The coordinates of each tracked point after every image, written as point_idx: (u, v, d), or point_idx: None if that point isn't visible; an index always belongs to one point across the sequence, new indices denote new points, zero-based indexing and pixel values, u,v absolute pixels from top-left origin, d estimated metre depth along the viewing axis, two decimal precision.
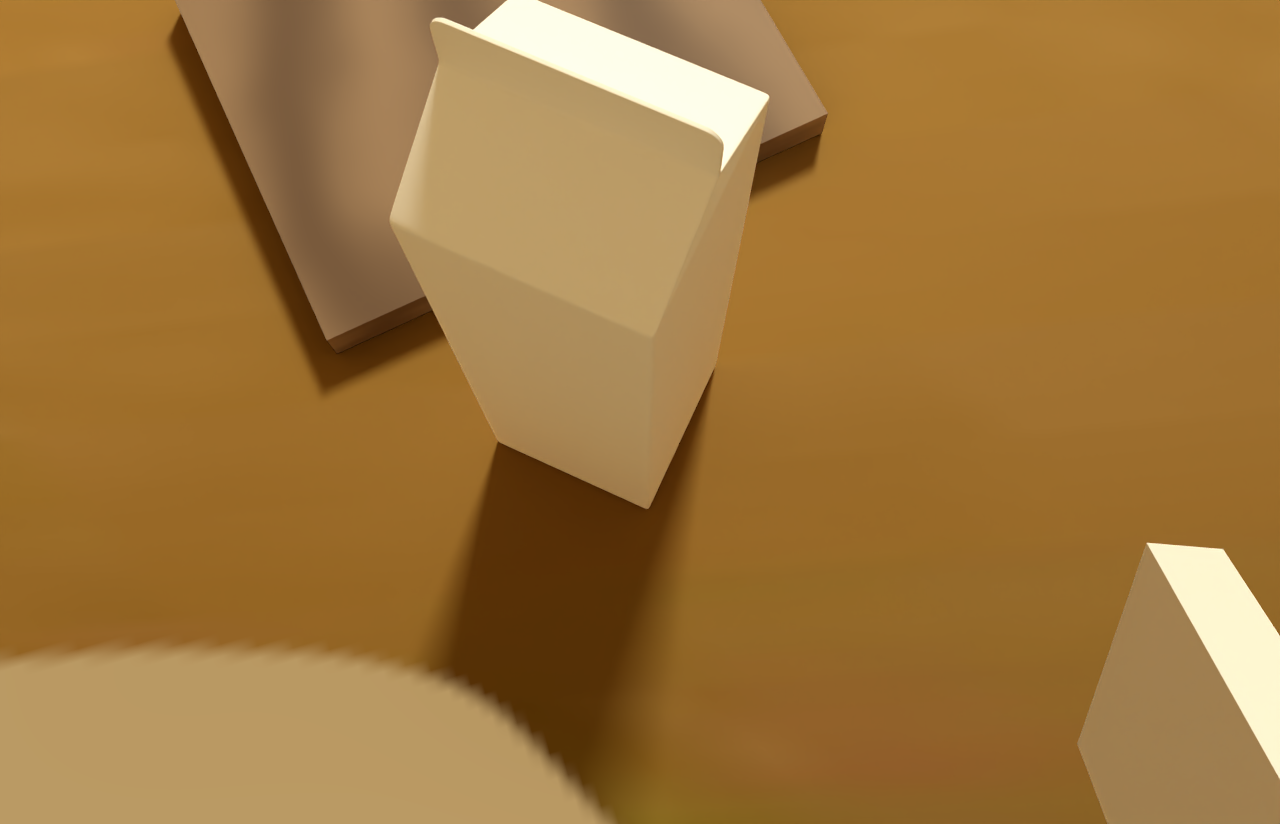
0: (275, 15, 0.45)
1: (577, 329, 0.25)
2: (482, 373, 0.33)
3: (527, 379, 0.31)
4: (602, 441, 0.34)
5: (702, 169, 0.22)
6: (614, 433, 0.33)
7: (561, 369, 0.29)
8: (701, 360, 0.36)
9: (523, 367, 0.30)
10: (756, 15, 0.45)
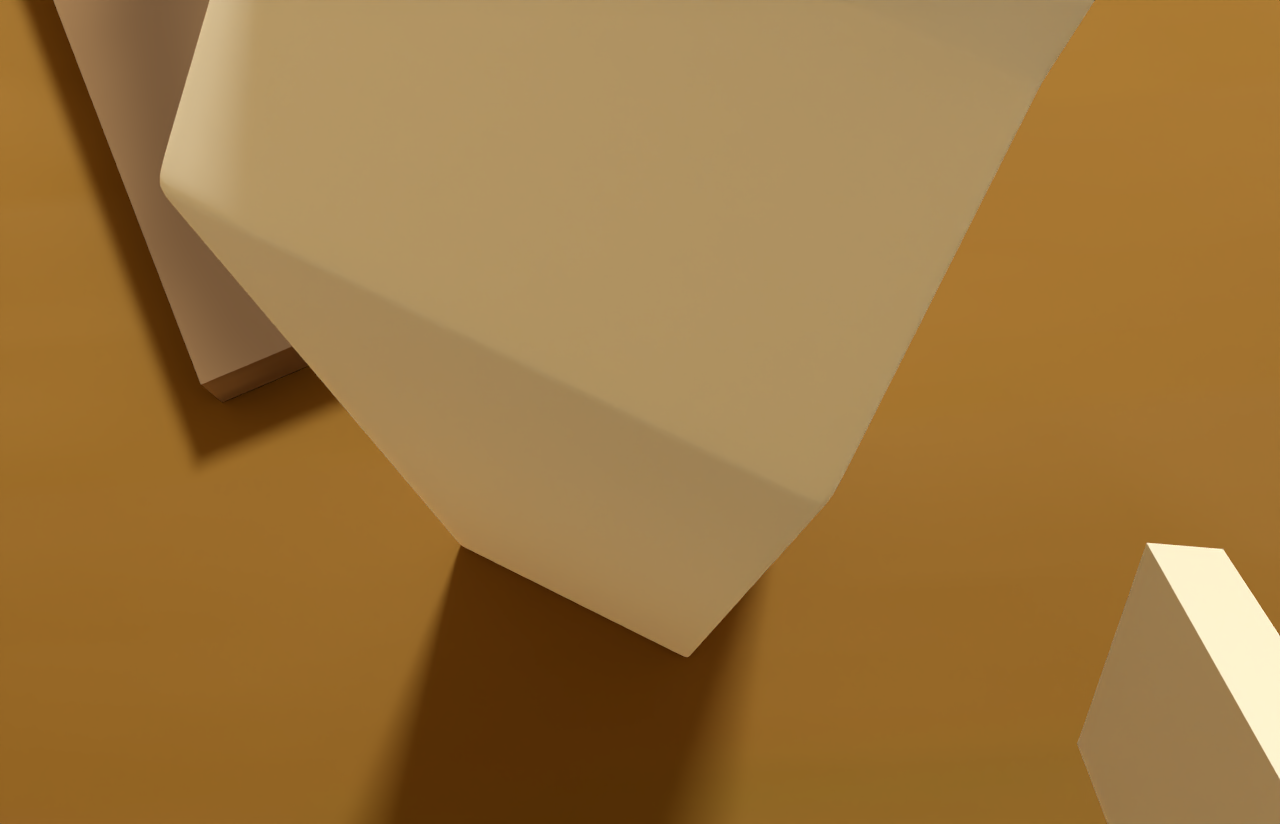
0: None
1: (618, 455, 0.11)
2: (424, 475, 0.18)
3: (503, 499, 0.17)
4: (632, 591, 0.20)
5: (1000, 58, 0.08)
6: (658, 591, 0.18)
7: (571, 502, 0.14)
8: None
9: (497, 484, 0.16)
10: None
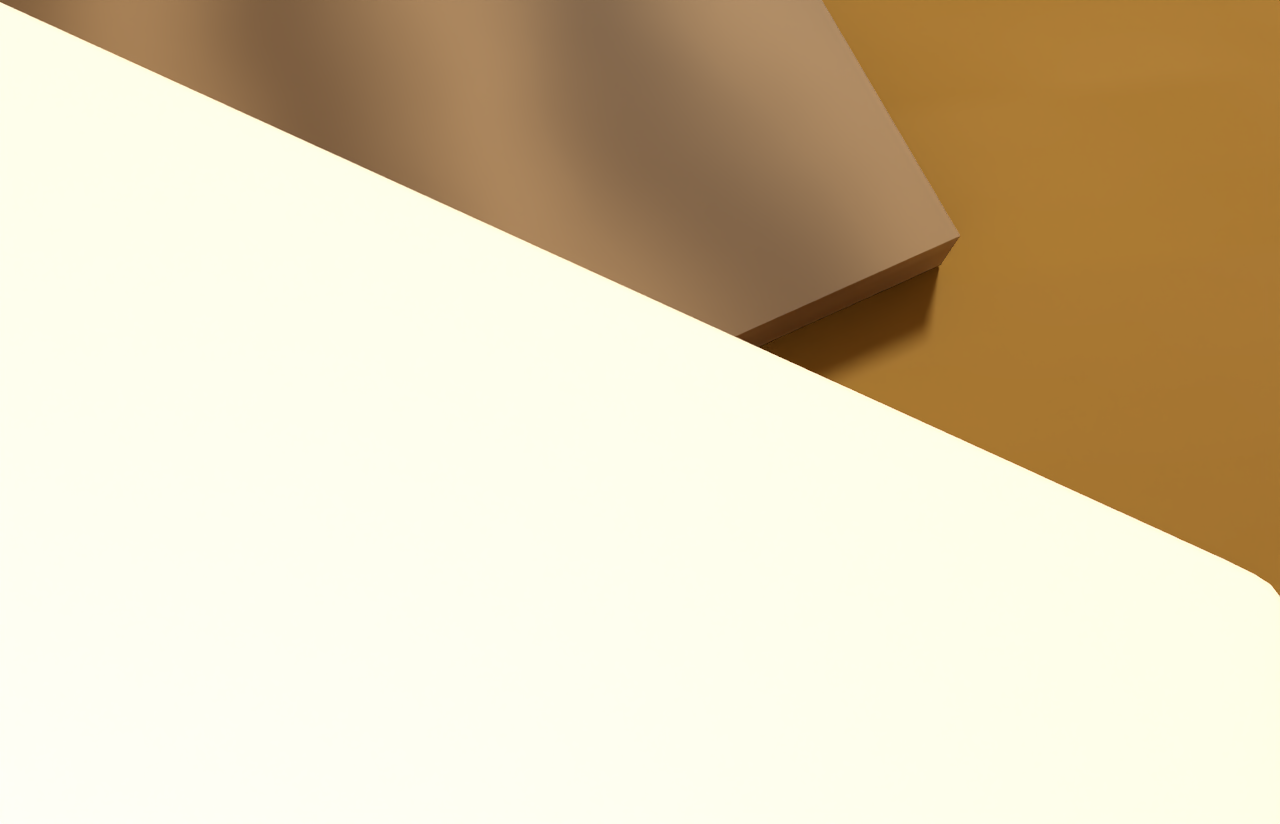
0: None
1: None
2: None
3: None
4: None
5: None
6: None
7: None
8: None
9: None
10: (827, 49, 0.25)
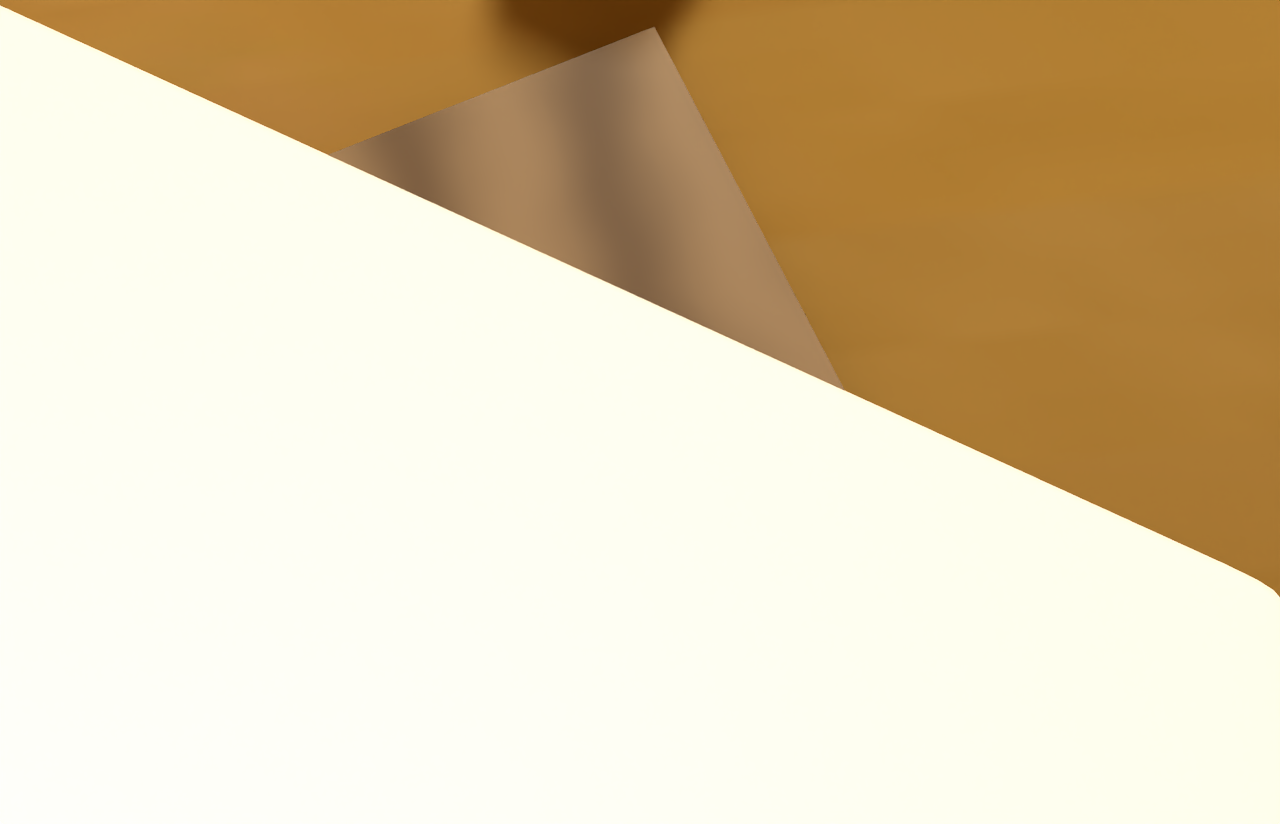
0: None
1: None
2: None
3: None
4: None
5: None
6: None
7: None
8: None
9: None
10: (792, 321, 0.37)
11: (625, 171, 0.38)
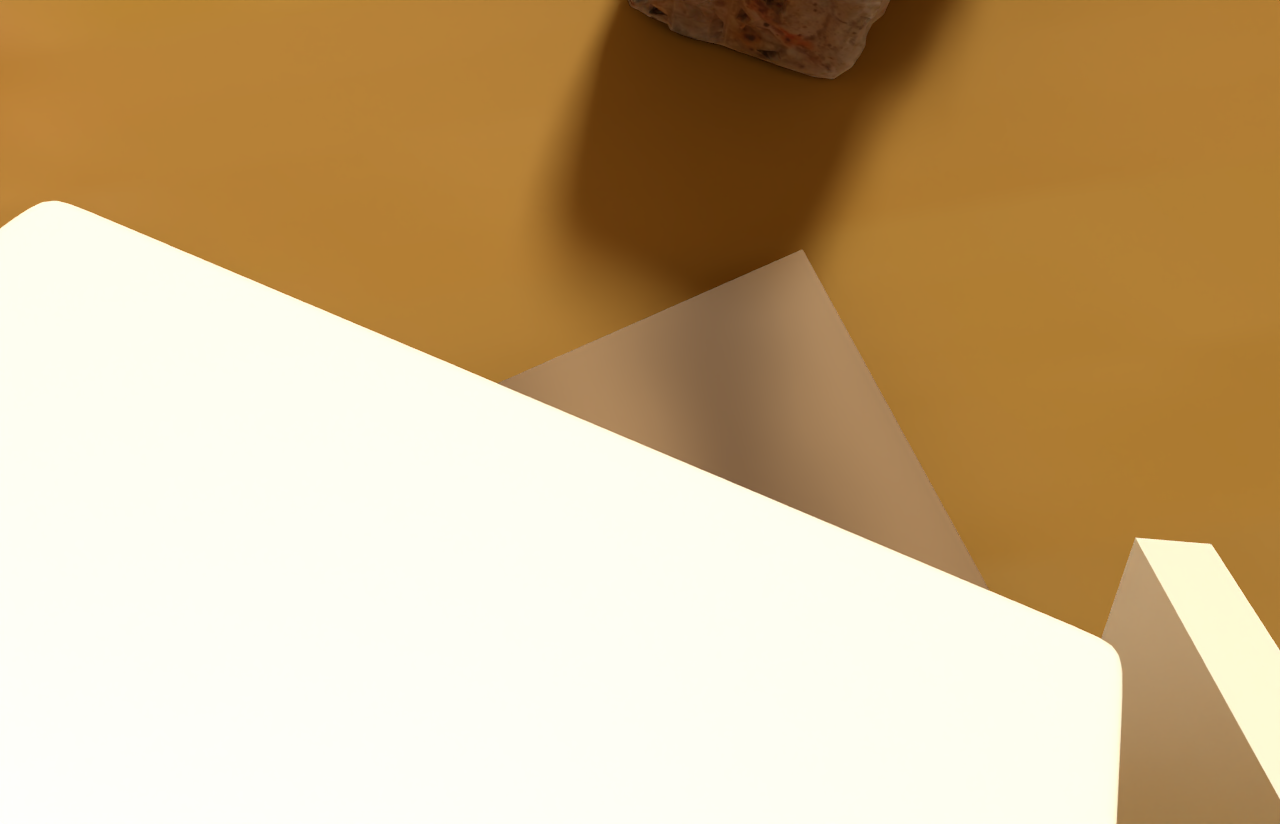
0: None
1: None
2: None
3: None
4: None
5: None
6: None
7: None
8: None
9: None
10: None
11: (771, 479, 0.25)
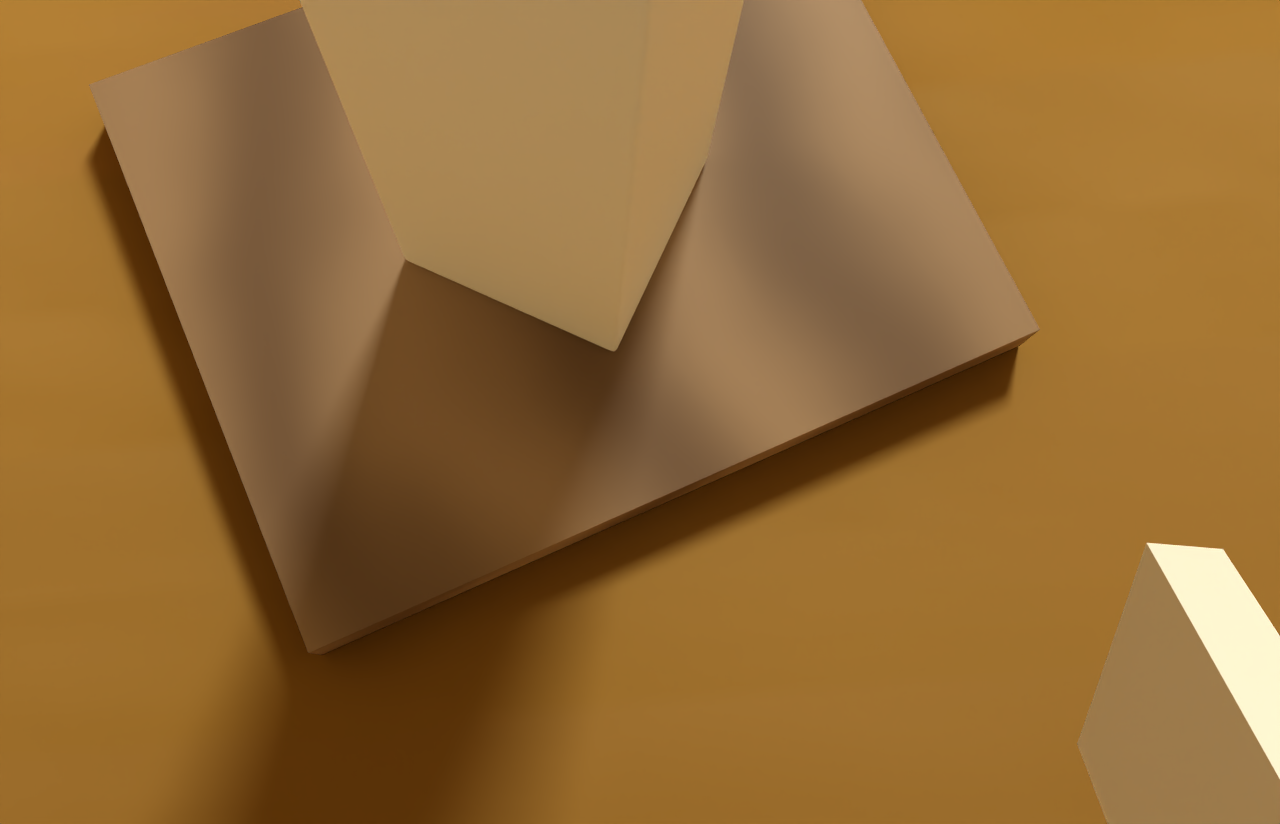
0: (246, 141, 0.31)
1: None
2: (367, 90, 0.21)
3: (435, 79, 0.19)
4: (554, 210, 0.23)
5: None
6: (574, 183, 0.21)
7: (488, 24, 0.17)
8: (699, 106, 0.25)
9: (428, 46, 0.18)
10: (939, 176, 0.32)
11: None
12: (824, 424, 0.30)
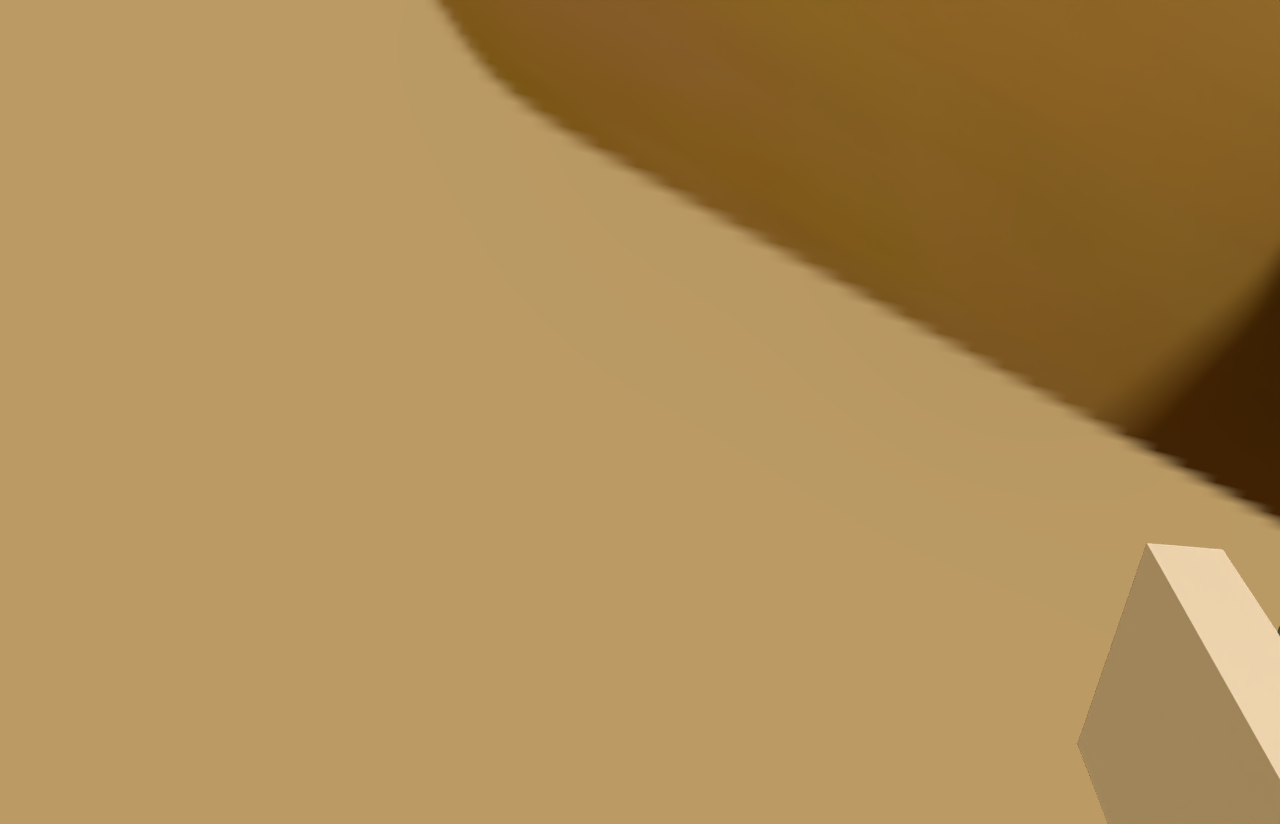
0: None
1: None
2: None
3: None
4: None
5: None
6: None
7: None
8: None
9: None
10: None
11: None
12: None
